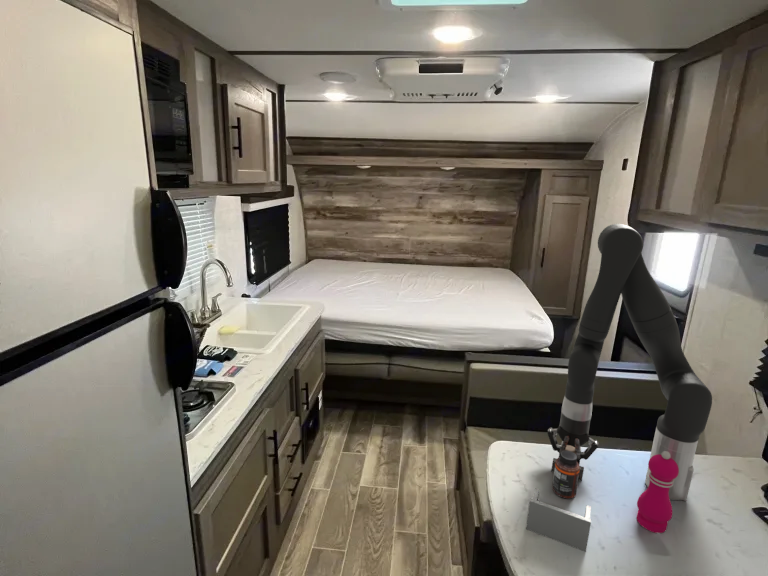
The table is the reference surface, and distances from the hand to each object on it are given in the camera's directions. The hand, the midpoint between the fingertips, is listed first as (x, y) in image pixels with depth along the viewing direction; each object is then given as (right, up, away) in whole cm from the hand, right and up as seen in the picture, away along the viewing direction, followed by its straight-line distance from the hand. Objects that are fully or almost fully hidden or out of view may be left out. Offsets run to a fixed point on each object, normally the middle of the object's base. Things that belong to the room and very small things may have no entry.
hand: (568, 465), depth 123 cm
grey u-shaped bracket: (-11, -6, -20) cm, 24 cm away
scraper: (0, -1, 0) cm, 1 cm away
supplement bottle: (-5, -3, -9) cm, 11 cm away
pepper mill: (+12, -6, -19) cm, 23 cm away
